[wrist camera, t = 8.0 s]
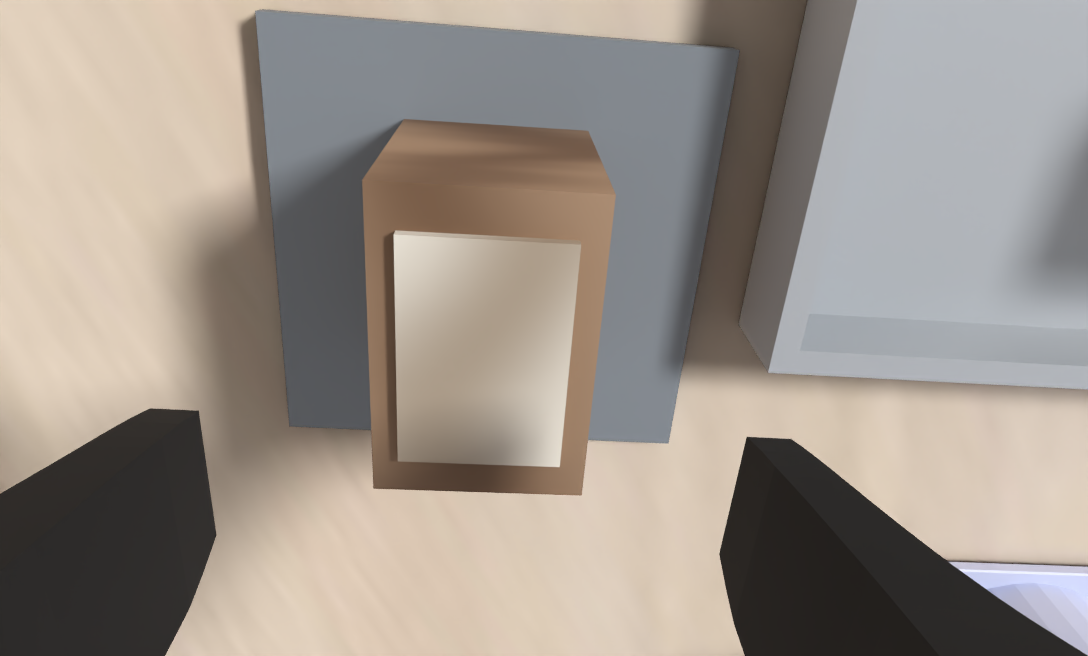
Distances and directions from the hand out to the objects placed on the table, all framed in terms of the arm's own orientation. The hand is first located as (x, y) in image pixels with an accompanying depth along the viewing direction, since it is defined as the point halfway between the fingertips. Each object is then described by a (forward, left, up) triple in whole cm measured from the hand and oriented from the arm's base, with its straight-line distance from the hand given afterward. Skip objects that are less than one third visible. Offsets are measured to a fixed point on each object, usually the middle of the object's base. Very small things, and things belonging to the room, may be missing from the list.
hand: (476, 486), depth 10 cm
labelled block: (0, 0, -9) cm, 9 cm away
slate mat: (0, 0, -9) cm, 9 cm away
